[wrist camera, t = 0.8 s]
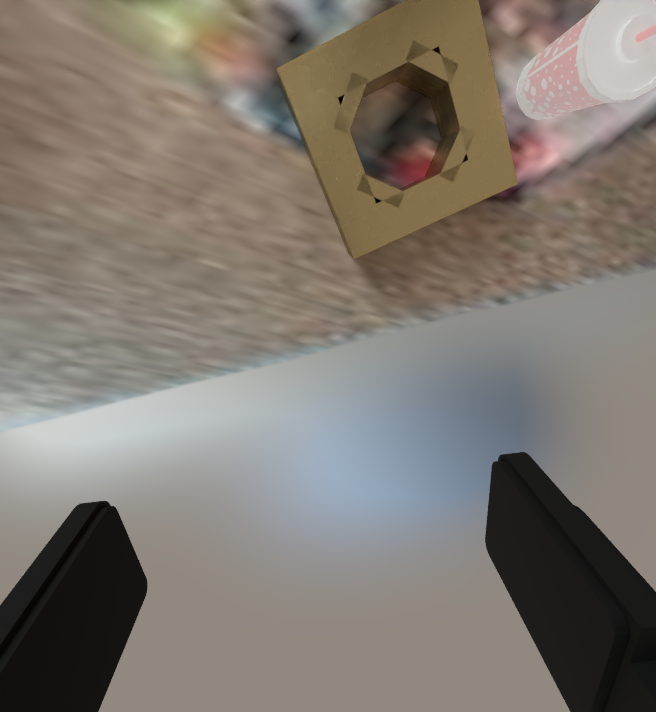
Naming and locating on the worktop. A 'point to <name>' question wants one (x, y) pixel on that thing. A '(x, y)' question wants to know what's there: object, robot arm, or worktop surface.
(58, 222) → the worktop surface
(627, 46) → the beverage cup
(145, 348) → the worktop surface
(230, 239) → the worktop surface
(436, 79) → the block
